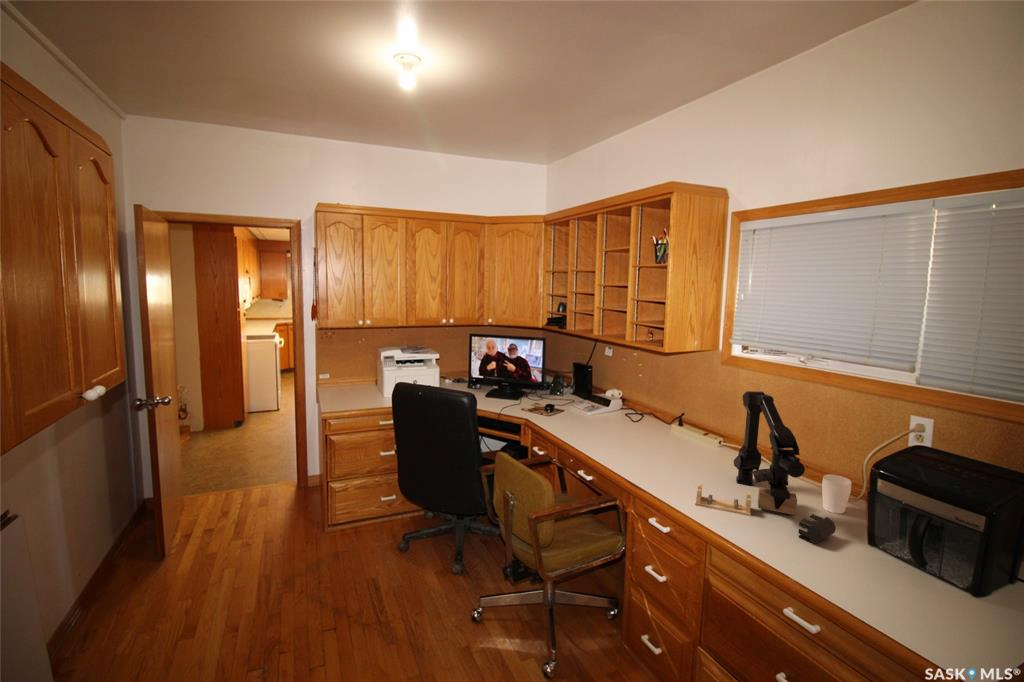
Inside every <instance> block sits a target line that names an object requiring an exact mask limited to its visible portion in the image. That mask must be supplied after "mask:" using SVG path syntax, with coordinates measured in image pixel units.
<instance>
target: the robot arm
mask: <svg viewBox="0 0 1024 682" xmlns="http://www.w3.org/2000/svg"><path fill="white" fill-rule="evenodd" d="M774 401H775V400H774V397H773V396H772V395H770V394H767V393H766V394H765V393H764V391H757V390H755V391H751V390H750V391H748V390H746V391H745V392H744V393H743V394H742V402H743V403H742V405H743V407H744V408H745V411H746V419H745V429H744V441H743V445H742V446H741V447H740V449H739V450H738V455H737V456H736V457H735V458H734V459H733V466H734V468H736V469H737V475H736V476H735V477H736V483H737V484H742V485H747V486H755V485H754V484H755V483H757V484H761V483H763V482H768V485H769V489H770V495H771V496H773V497H774V503H775V509H779V508H780V507H781V505H782V504H783V503H784V501H785V500H786V499H790V495H791V493H792V492H791V490H790V489H789V487H788V486H789V476H790V477H792V478H794V479H796V478H800V477H802V476H803V475H804V473H805V470H806V469H805V466H804V464H803V463H802V462H801V459H800V458H799V457H797V456H800V447H799V445H798V442H797V439H796V437H795V435H794V434H793V431H792V430H791V429H790V428H789V427H788V426H785V424H784V422H783V420H782V418H781V415H780V414H779V411H778V408H777V407H776V405H775V402H774ZM761 413H762V414H763V416H764V418H765V421H766V422H767V423H766V424H767V426H768V428H769V435H768V437H769V443H770V445H771V446H770V450H771V451H772V453H771V454H772V455H771V457H772V458H771V464H770V465H769V468H763V469H762V468H761V469H760V467H761V464H762V453H761V452H760V451H759V449H758V437H759V428H760V419H761V418H760V417H761V416H760V415H761ZM754 480H755V483H754Z"/></svg>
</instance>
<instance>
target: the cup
mask: <svg viewBox="0 0 1024 682" xmlns="http://www.w3.org/2000/svg"><path fill="white" fill-rule="evenodd" d="M822 477H823V478H822V483H821V492H822V507H823V509H824V510H825V511H827V512H829V513H833V514H836V515H837V514H839V515H841V514H844V513H845V511H846V507H847V505H848V501H849V498H850V495H851V492H852V481H851V479H849V478H847V477H844V476H841V475H837V474H824V475H823V476H822Z"/></svg>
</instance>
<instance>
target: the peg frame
mask: <svg viewBox="0 0 1024 682" xmlns="http://www.w3.org/2000/svg"><path fill="white" fill-rule="evenodd" d="M702 491H703V484H700V483H698V485H697V490H696V496H695V498H696V499H695V503H694V504H695V506H697V507H698V506H699V507H702V508H704V507H705V508H709V509H714V510H720V511H724V512H729V513H734V514H739V515H744V516H749V517H751V515H752V512H751V511H752V509H751V505H752V494H751V493H750V492H746V495H745V503H739V499H735V498H734V500H733V501H729V500H723V499H718V498H714V497H713V494H708V497H707V496H702V494H703V493H702Z"/></svg>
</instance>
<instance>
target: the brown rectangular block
mask: <svg viewBox="0 0 1024 682" xmlns="http://www.w3.org/2000/svg"><path fill="white" fill-rule="evenodd" d="M790 493H791V495H790V499H786V500H785V501H784V503H783V504H782V505H781V507H780V508H779V509H775V503H774V497H773V496H771V495H770V488H765V487H761V486H759V487H758V496H757V506H758V509H763V510H767V511H773V512H776V513H777V512H778V513H783V514H789V515H793V516H796V512H797V505H798V497H797V494H796V493H794V492H790Z"/></svg>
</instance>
